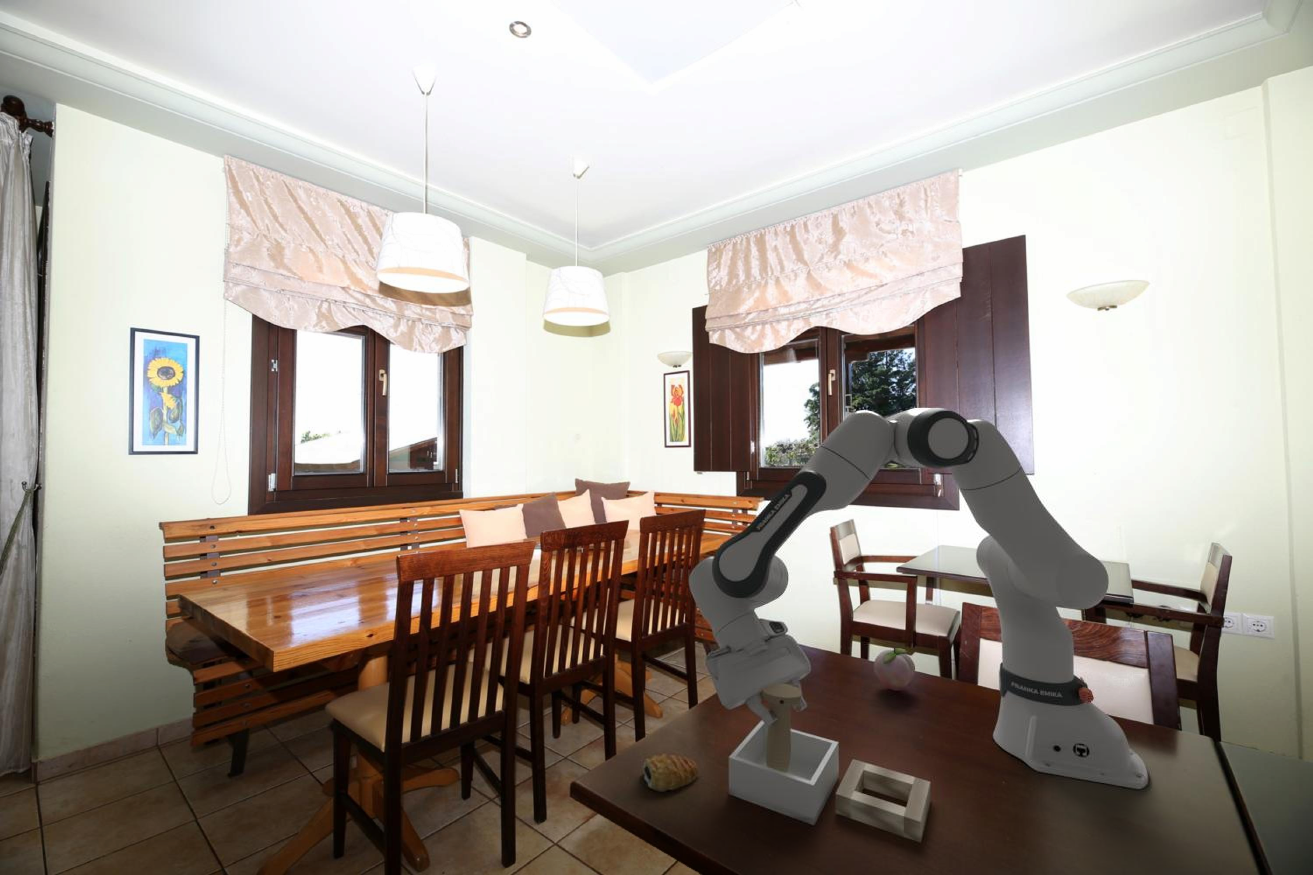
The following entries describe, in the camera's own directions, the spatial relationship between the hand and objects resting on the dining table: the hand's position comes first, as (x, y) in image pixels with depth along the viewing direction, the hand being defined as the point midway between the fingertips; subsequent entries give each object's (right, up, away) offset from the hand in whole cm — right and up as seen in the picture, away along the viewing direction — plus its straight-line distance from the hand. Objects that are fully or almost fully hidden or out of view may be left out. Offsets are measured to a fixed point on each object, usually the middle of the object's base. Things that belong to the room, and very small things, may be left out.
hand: (787, 716), depth 93 cm
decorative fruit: (+33, -12, +35) cm, 49 cm away
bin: (0, -12, 0) cm, 12 cm away
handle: (-2, -10, 0) cm, 11 cm away
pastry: (-20, -12, +3) cm, 24 cm away
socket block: (+14, -12, -5) cm, 19 cm away
